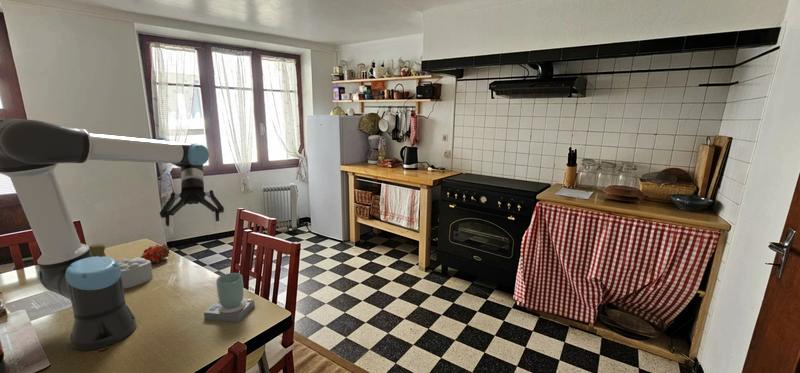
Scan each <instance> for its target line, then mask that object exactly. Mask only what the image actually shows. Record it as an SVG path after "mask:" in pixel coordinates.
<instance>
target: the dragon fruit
mask: <svg viewBox="0 0 800 373" xmlns="http://www.w3.org/2000/svg"><path fill="white" fill-rule="evenodd" d="M169 248H170V247H169V246H167V245H165V244H162V245H161V244H155V245H152V246H149V247H148V248H146V249H144V250H143V253H142V254H141V257H140V258H144V259H146V260H149V261H151V264H153V263H156V264H159V263H160V262H162V261H164V259H166V258H169V256H170V250H171V249H169Z"/></svg>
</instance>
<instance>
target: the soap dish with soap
mask: <svg viewBox="0 0 800 373" xmlns="http://www.w3.org/2000/svg"><path fill="white" fill-rule="evenodd" d="M254 307H255V299H254V298H245V297H243V300H242V302H241V303H240V304H239V305H238V306H236V307H233V308H225V307H223V306H222V305H221V304H220V302H219V299H218V300H216V301H215V302H214V303H213V304H211V305H210V307H208V308H207V309H206V310H205V311H204V312H203V319H204V320H210V321H220V322H221V321H222V322H231V323H234V322H235V323H239V322H240V321H241V320H243V319H244V317H245V316H247V314H248V313H249V312H250V311H251V310H252V309H253V308H254Z"/></svg>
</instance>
